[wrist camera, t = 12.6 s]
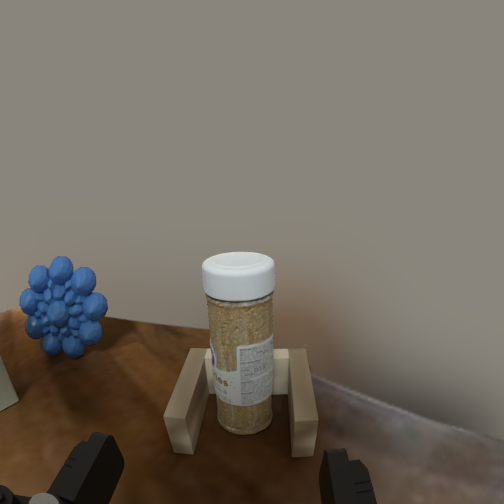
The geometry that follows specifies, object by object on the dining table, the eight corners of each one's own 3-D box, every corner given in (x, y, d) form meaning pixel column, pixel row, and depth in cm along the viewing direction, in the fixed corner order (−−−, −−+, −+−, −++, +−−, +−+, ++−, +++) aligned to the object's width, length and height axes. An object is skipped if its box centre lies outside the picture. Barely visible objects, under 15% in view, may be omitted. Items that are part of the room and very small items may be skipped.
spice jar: (209, 409, 24) (192, 255, 21) (258, 394, 26) (254, 246, 22) (230, 445, 20) (215, 275, 17) (284, 425, 22) (289, 262, 18)
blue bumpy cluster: (126, 338, 35) (109, 243, 32) (115, 369, 29) (91, 259, 26) (47, 339, 34) (26, 251, 31) (27, 366, 27) (-2, 266, 24)
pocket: (174, 452, 19) (163, 416, 18) (196, 382, 28) (190, 348, 27) (313, 456, 18) (318, 420, 17) (303, 383, 27) (305, 348, 26)
